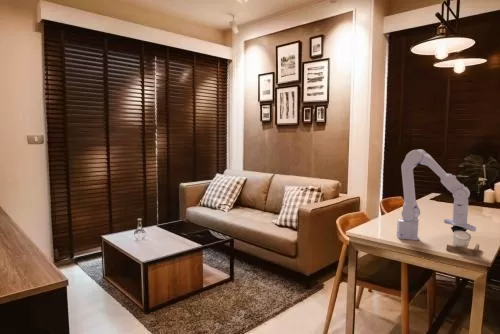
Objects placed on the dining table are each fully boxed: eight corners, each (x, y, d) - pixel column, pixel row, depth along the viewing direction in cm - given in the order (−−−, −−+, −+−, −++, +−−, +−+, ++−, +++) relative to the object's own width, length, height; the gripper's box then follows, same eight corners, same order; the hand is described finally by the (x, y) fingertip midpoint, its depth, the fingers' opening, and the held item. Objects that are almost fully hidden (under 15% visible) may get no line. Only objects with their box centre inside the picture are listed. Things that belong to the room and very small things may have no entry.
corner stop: (493, 256, 143) (494, 250, 143) (459, 257, 142) (459, 251, 142) (477, 248, 152) (478, 243, 152) (445, 249, 151) (445, 244, 151)
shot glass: (462, 254, 148) (465, 242, 144) (447, 246, 153) (449, 234, 149) (471, 247, 150) (474, 235, 147) (455, 239, 156) (458, 227, 152)
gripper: (439, 210, 158) (438, 238, 160) (468, 218, 145) (466, 248, 146) (451, 209, 161) (449, 237, 162) (480, 216, 147) (478, 246, 148)
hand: (458, 242), depth 154 cm, fingers closed, pressing on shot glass
